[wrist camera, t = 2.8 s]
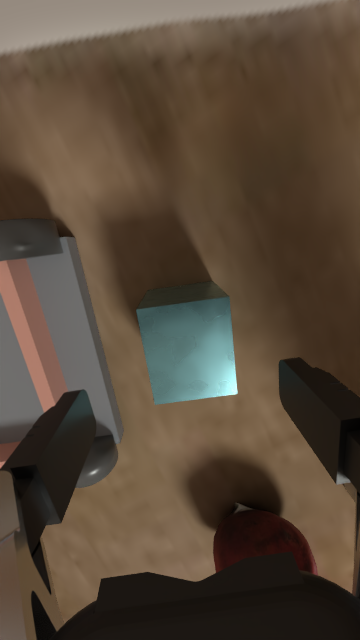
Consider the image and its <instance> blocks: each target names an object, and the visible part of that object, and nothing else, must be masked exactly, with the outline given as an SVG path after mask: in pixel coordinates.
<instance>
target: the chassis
mask: <svg viewBox="0 0 360 640" xmlns="http://www.w3.org/2000/svg"><path fill="white" fill-rule="evenodd" d="M82 389H84V390H86V392H87V394H88V397H89V400H90V403H91V407H92V410H93V413H94V416H95V420H96V435H95V438H94V441H93V443H92V446H91V448H90V451H89V453H88V456H87V458H86V461H85V464H84V466H83V469H82V471H81V474H80V476H79V479H78V481H77V484H76V488H82V487H87V486H90V485H93V484H95V483H97V482H99V481H100V480H102V479H103V478H105V477H106V476H107V475H108V474H109V473H110V472H111V470H112V469H113V468H114V466H115V464H116V462H117V459H118V451H117V447H116V444H118V443H120V442H121V439H122V435H123V432H124V429H123V425H122V421H121V418H120V414H119V410H118V406H117V402H116V398H115V394H114V390H113V386H112V382H111V378H110V374H109V370H108V366H107V362H106V358H105V355H104V351H103V347H102V343H101V339H100V335H99V331H98V327H97V323H96V319H95V315H94V311H93V307H92V303H91V299H90V295H89V292H88V288H87V284H86V280H85V276H84V272H83V268H82V264H81V260H80V256H79V252H78V248H77V244H76V240H75V237H59V233H58V230H57V226H56V222H55V221H53V220H48V219H12V220H1V221H0V469H1V467H2V466H3V465H4V463H5V462H6V461H7V459H8V458H9V457H10V455H11V454H12V453H13V451H14V450H15V449H16V447H17V446H18V445H19V443H20V442H21V441H22V439H23V438H25V437H26V434H27V433H28V432H29V430H30V429H32V426H33V425H34V424H35V422H36V421H37V420H38V418H39V417H40V416H41V415H42V414H43V413H45V412H46V411H47V410H48V409H50V408H51V407H52V406H55V404H56V403H57V402H58V400H59V399H60V397H61V396H62V395H63V393H65V392H69V391H76V390H82Z"/></svg>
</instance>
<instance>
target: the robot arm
mask: <svg viewBox="0 0 360 640" xmlns="http://www.w3.org/2000/svg"><path fill="white" fill-rule="evenodd" d="M279 394H280V399H281V403H282V405H283V407H284V409H285V411H286V412H287V413H288V415H289V416H290V418H291V419H292V421H293V422H294V424H295V425H296V426H297V428H298V429H299V431H300V432H301V434H302V435H303V437H304V438H305V440H306V441H307V442H308V444H309V445H310V447H311V448H312V450H313V451H314V453H315V454H316V456H317V457H318V458H319V460H320V461H321V463H322V464H323V466H324V467H325V469H326V470H327V471H328V473H329V474H330V476H331V477H332V479H333V480H334V482H335V483H336V484H343V483H344V486H345V489H346V490H347V492H348V493H349V494H350V496H351V497H352V499H353V500H354V502H355V503H356V505H355V548H354V574H353V590H352V594H351V593H350V592H348V591H347V590H345V589H343V588H342V587H340V586H338V585H337V584H335V583H333V582H331V581H329V580H327V579H325V578H323V577H321V576H318V575H315V574H312V573H309V572H305V571H300V570H299V568H298V566H297V563H296V561H295V558H294V556H293V553H292V551H291V552H284V553H277V554H270V555H263V556H256V557H249V558H244V559H242V560H240V561H238V562H236V563H234V564H232V565H231V566H229V567H227V568H225V569H223V570H221V571H219V572H217V573H215V574H213V575H211V576H209V577H207V578H206V579H204V580H201V581H198V582H193V581H188V580H183V579H178V578H174V577H169V576H164V575H160V574H155V573H150V572H144V573H137V574H131V575H124V576H117V577H110V578H103V579H101V582H100V587H99V592H98V597H97V600H96V601H94V602H92V603H91V604H89V605H88V606H86V607H85V608H83V609H82V610H80V611H79V612H78V613H77V614H75V615H74V616H73V617H72V618H71V619H69V620H68V621H67V622H66V623H64V621H63V618H62V615H61V612H60V609H59V606H58V602H57V598H56V594H55V590H54V585H53V581H52V577H51V572H50V568H49V564H48V559H47V555H46V551H45V546H44V542H43V540H42V538H41V535H42V533H43V530H44V528H45V526H46V525H52V524H59V523H61V522H62V520H63V517H64V515H65V512H66V510H67V507H68V505H69V502H70V499H71V497H72V494H73V492H74V489H75V487H76V484H77V481H78V479H79V476H80V474H81V471H82V469H83V466H84V464H85V461H86V458H87V456H88V453H89V451H90V448H91V446H92V443H93V441H94V438H95V435H96V420H95V416H94V413H93V410H92V407H91V403H90V400H89V397H88V394H87V392H86V390H84V389H82V390H76V391H69V392H65V393H63V395H62V396H61V397H60V399H59V400H58V402H57V403H56V404H55V406H52V407H51V408H50V409H48V410H47V411H46V412H45V413H43V414H42V415H41V416H40V417H39V418H38V420H37V421H36V422H35V424H34V425H33V426H32V429H30V430H29V432H28V433H27V434H26V437H25V438H23V439H22V441H21V442H20V443H19V445H18V446H17V447H16V449H15V450H14V451H13V453H12V454H11V455H10V457H9V458H8V459H7V461H6V462H5V463H4V465H3V466H2V467H1V469H0V640H360V398H359V397H358V396H357V395H356V394H354V393H353V392H352V391H351V390H348V388H347V387H346V386H345V385H343V384H342V383H340V381H338V380H337V379H336V378H335V377H334V376H332V375H331V374H330V373H328V372H325V371H323V370H321V369H319V368H312V367H311V366H310V365H308V364H307V363H306V362H305V361H304V360H303V359H301V358H300V357H298V358H291V359H285V360H280V362H279Z"/></svg>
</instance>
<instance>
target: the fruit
mask: <svg viewBox="0 0 360 640" xmlns="http://www.w3.org/2000/svg"><path fill="white" fill-rule="evenodd" d="M234 504H235V509H234V510H233V512H232V513H231V514H230V515H229V516H228V517H226V518H225V519H223V520H222V522H221V523H220V524H219V526H218V529H217V531H216V533H215V536H214V545H213V554H214V562H215V568H216V573H217V572H219V571H221V570H223V569H225V568H227V567H229V566H231V565H232V564H234V563H236V562H238V561H240V560H242V559H244V558H249V557H256V556H263V555H270V554H277V553H284V552H291V551H292V553H293V556H294V558H295V561H296V563H297V566H298V568H299V570H300V571H305V572H309V573H312V574H315V575H318V573H317V566H316V562H315V560H314V557H313V555H312V552H311V549H310V547H309V544H308V542H307V540H306V539H305V537H304V536H303V534H302V533H301V532H300V531H299V530H298V529H297V528H296V527H295V526H294V525H293V524H292V523H290V522H289V521H287V520H285V519H283V518H281V517H279V516H277V515H275V514H274V513H271V512H268V511H263V510H256V509H251V508H248V507H246V506H243V505H241V504H239V503H236V502H234Z"/></svg>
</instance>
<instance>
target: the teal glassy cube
mask: <svg viewBox="0 0 360 640" xmlns="http://www.w3.org/2000/svg"><path fill="white" fill-rule="evenodd" d="M136 312H137V317H138V322H139V327H140V332H141V337H142V342H143V347H144V352H145V357H146V362H147V367H148V372H149V377H150V382H151V387H152V392H153V397H154V402H155V405H156V404H164V403H172V402H179V401H187V400H194V399H202V398H210V397H217V396H225V395H232V394H237V385H236V373H235V360H234V348H233V336H232V323H231V311H230V299H229V296H228V295H227V294H226V293H225V292H224V291H223V290H222V289H221V288H220V287H219V286H218V285H216V284H215V283H214V282H213V281H209V282H202V283H195V284H188V285H181V286H174V287H167V288H160V289H153V290H148V291H147V293H146V294H145V296H144V298H143V299H142V301H141V302H140V304H139V306H138V307H137V309H136Z"/></svg>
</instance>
